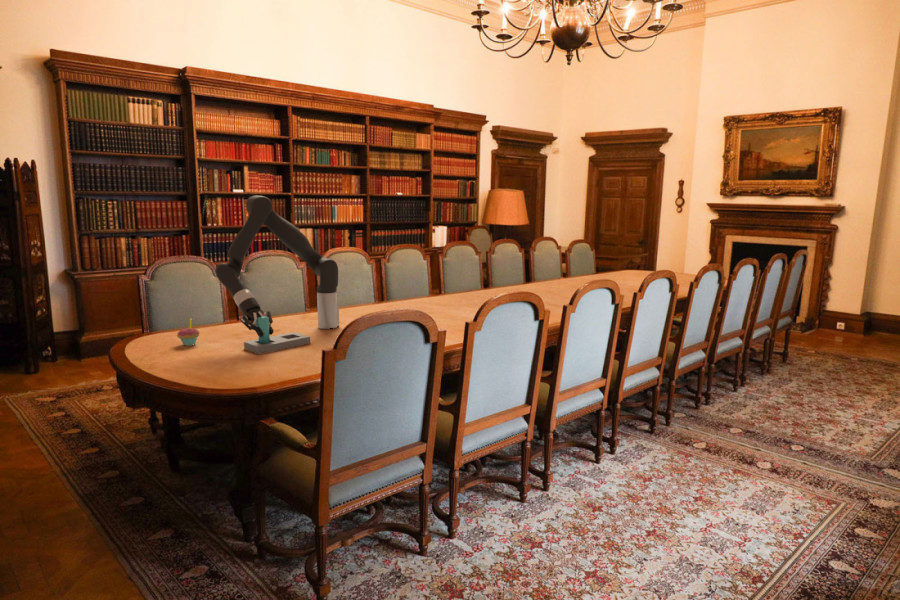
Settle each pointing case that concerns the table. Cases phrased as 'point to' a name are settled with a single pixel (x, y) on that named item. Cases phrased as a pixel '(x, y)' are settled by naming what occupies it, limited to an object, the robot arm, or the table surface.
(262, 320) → the teal round-top peg
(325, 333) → the table surface
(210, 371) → the table surface
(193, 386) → the table surface
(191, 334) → the cupcake
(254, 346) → the rack
